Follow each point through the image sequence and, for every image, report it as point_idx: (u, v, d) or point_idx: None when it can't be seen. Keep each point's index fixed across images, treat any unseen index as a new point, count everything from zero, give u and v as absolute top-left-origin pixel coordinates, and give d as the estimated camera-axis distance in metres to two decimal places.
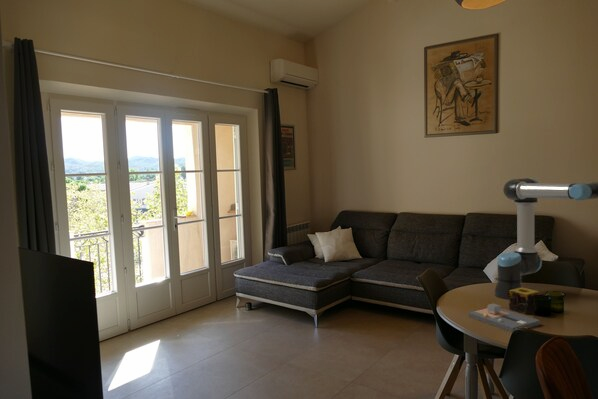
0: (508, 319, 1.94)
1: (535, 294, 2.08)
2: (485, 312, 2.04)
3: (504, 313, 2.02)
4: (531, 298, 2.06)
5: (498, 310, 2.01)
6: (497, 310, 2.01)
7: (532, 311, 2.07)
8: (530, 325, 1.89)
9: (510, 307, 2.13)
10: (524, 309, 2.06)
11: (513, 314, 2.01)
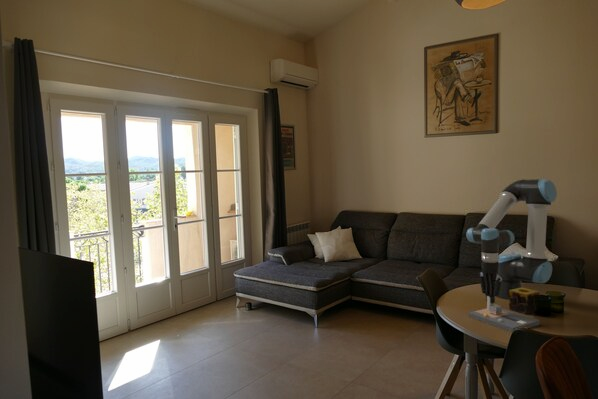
0: (508, 319, 1.94)
1: (535, 294, 2.08)
2: (485, 312, 2.04)
3: (504, 313, 2.02)
4: (531, 298, 2.06)
5: (499, 310, 2.00)
6: (498, 310, 2.00)
7: (532, 311, 2.07)
8: (530, 325, 1.89)
9: (510, 307, 2.13)
10: (524, 309, 2.06)
11: (513, 314, 2.01)
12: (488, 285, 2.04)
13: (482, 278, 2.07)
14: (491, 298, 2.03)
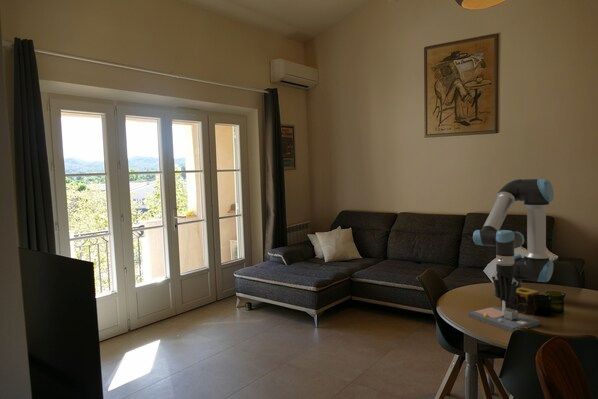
0: (508, 319, 1.94)
1: (535, 294, 2.08)
2: (485, 312, 2.04)
3: None
4: (531, 298, 2.06)
5: (515, 315, 1.93)
6: (514, 315, 1.93)
7: (532, 311, 2.07)
8: (530, 325, 1.89)
9: (510, 307, 2.13)
10: (524, 309, 2.06)
11: None
12: (503, 289, 1.97)
13: (497, 282, 2.00)
14: (506, 303, 1.95)
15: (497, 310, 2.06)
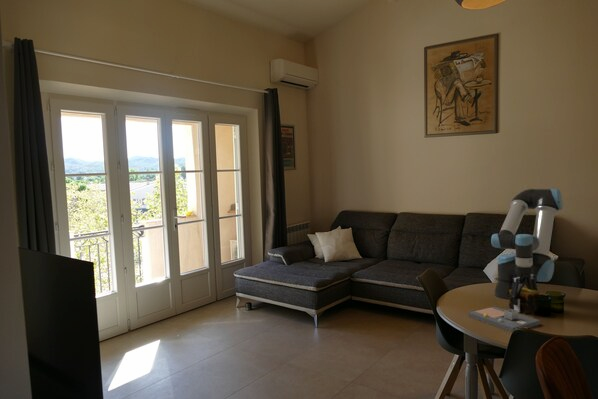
0: (508, 319, 1.94)
1: (535, 294, 2.08)
2: (485, 312, 2.04)
3: None
4: (531, 298, 2.06)
5: (515, 316, 1.93)
6: (514, 315, 1.93)
7: (532, 311, 2.07)
8: (530, 325, 1.89)
9: (510, 307, 2.13)
10: (524, 309, 2.06)
11: None
12: None
13: None
14: None
15: (497, 310, 2.06)
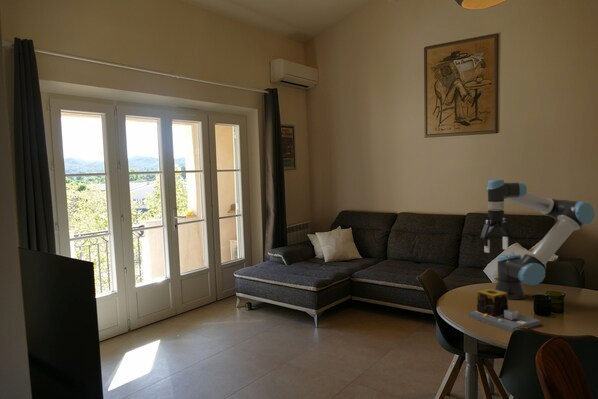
0: (508, 319, 1.94)
1: (503, 296, 2.00)
2: None
3: None
4: (498, 300, 1.99)
5: (515, 316, 1.93)
6: (514, 315, 1.93)
7: (499, 313, 1.99)
8: (530, 325, 1.89)
9: (478, 309, 2.05)
10: (491, 311, 1.99)
11: None
12: None
13: None
14: (507, 238, 2.21)
15: None
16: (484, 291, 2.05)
